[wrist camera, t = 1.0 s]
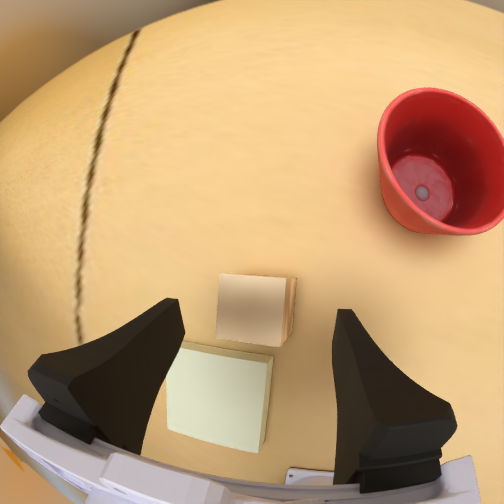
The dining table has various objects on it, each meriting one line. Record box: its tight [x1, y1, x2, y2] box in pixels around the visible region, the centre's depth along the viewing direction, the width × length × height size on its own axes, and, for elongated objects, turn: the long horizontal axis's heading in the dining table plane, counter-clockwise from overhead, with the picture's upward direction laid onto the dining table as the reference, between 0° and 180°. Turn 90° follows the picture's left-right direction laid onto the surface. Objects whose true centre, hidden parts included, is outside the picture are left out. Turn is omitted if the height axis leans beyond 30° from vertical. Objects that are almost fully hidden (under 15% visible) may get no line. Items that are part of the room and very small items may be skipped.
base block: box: [167, 341, 274, 454], centre depth 26 cm, size 10×10×3 cm
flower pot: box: [377, 88, 504, 236], centre depth 19 cm, size 11×11×10 cm
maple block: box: [216, 273, 297, 347], centre depth 24 cm, size 5×5×6 cm
